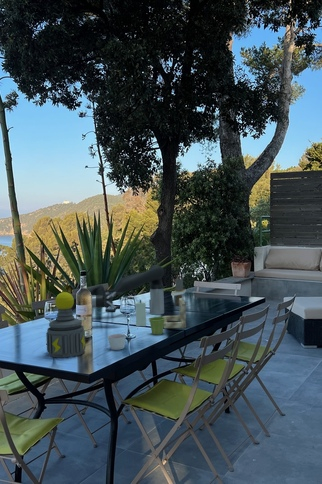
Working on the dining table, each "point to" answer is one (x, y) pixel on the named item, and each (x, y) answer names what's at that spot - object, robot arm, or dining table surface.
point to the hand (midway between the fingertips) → (122, 300)
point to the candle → (116, 341)
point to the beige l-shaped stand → (177, 317)
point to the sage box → (140, 313)
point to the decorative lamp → (65, 330)
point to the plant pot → (157, 325)
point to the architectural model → (178, 291)
